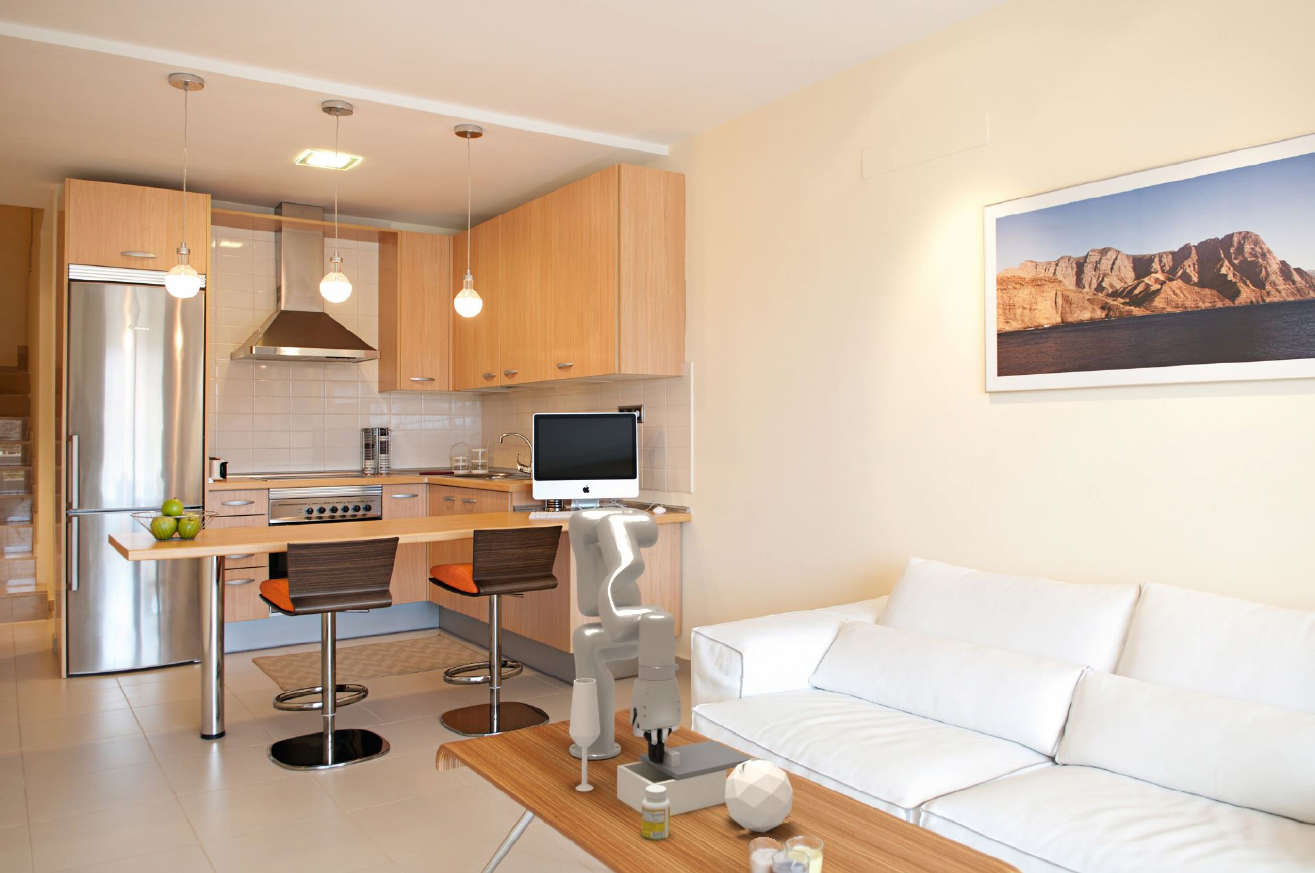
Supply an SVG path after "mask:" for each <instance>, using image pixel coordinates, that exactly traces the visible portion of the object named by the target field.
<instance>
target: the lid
mask: <svg viewBox="0 0 1315 873" xmlns="http://www.w3.org/2000/svg"><path fill="white" fill-rule="evenodd" d="M751 757H752V756H751ZM751 757H750V756H748V755H746V754H743V753H742V752H739V751H737V750H735V749H733V748H730V747H728V746H726V745H723V744H721V743H720V742H719V743H718V742H717V741H714V740H712V739H711V740H710V739H709V740H707V741H702V742H696V743H691V744H686V745H680V746H676V747H675V746H674V747H668V746H666V745H664V762H663V763H660V762H659V764H655V763H654V762H652V761H650V760H649V757H648V752H644V753H640V754H638V760H639V761H644V762H645V763H647V764H649V765H651V766H653V767H655V768H657V769H659V770H660V771H662V772H664V773H666V774H668V775H670V776H672V777H673V778H675V779H677V780H679V779H684V778H688V777H693V776H697V775H702V774H707V773H711V772H716V771H720V770H725V769H726V770H730V769H733V768H734V769H735V768H736V766H737V765H739V764H741V763H743V762H746V761H748V760H750V759H751Z"/></svg>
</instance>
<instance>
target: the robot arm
mask: <svg viewBox="0 0 1315 873" xmlns="http://www.w3.org/2000/svg"><path fill="white" fill-rule="evenodd" d="M567 528H568V538H569V542H570V546H571V549H572V551H573V555H574V558H575V565H576V566H575V568H576V570H575V572H576V573H575V574H576V596H577V597H576V598H577V599H576V601H577V608H578V612H579V613H580V614H581V615H582V616H585V617H588V618H591V617H592V618H594V617H595V618H597V617H598V618H599V619H600V621H599V622H598V621H597V622H595V621H594V622H588V623H583V624H581V625H578V626H577V627H576V628H575V629H574V631H573V633H572V637H571V643H572V650H573V651H572V652H573V657H574V666H575V680H576V679H581V678H590V679H594V680H596V689H597V701H598V712H599V723H600V734H599V736H598V738H597V739H596V740H595V741H594V742H593V743H592V744H591V745H590V746H589V747H587V760H589V761H590V760H594V761H596V760H606V759H611V758H614V757H617V756H618V755H619V754H621V751H622V749H621V748H622V747H621V745H620V744H619V743H617V742H615V724H616V723H615V721H616V720H615V714H616V713H615V704H616V703H615V702H616V701H615V699H616V698H615V697H616V696H615V693H616V692H615V690H616V688H615V678H614V676H613V673H612V672H611V671H610V670H609V669H608V668H607V666H606V664H605V663H606V662H612V661H613V662H614V661H624V660H632V659H636V658H637V660H638V663H637V664H638V670H637V671H638V672H637V673H638V676H637V678H635V679H634V680H633V686H632V690H631V698H630V711H629V723H630V726H632V727H633V729H632V735H633V736H635V737H636V738H637V737H638V738H639V737H640V738H644V739H645V741H646V742H647V753H648V757H649V760H650V761H652V762H654V763H655V764H659V762H660V763H663V762H664V746H665V744H666V743H667V741H668V738H669V736H670V735H671V734H672V733H673V732H675V731H677V730H679V729H680V728H681V727H680V722H681V720H682V719H681V717H682V716H681V714H682V708H681V707H682V706H681V703H682V702H681V694H680V693H681V692H680V687H679V682H678V678H677V677H676V676H675V675H676V671H679V670H680V666H679V663H676V662H675V656H676V654H675V653H676V652H675V650H676V649H675V647H676V646H675V645H676V644H675V642H676V641H675V640H676V639H675V638H676V637H675V636H676V635H675V634H676V630H675V628H676V627H675V626H676V625H675V623H676V622H675V617H674V615H673V614H672V613H671V612H668V611H666V610H665V608H664V607H662V606H660V605H656V604H651V605H650V604H649V605H648V604H647V605H642V595H641V594H642V593H641V589H640V587H639V586H640V585H639V584H638V582H637V580H639V579H640V578H641V577H642V575H643V574H644V572H645V569H646V565H645V561H644V558H643V556H642V552H641V550H640V549H647V548H648V549H650V548H652V547H654V546H655V545H657V544H656V543H657V542H658V539H659V528H658V524H657V521H656V519H655V518H654V517H653V514H651V513H649V512H647V511H645V510H641V509H638V508H635V507H634V508H633V507H591V508H583V509H579V510H576V511H574V512H573V513H572V514H571V515H570V517H569V520H568V527H567ZM569 754H570V755H571V756H573V757H575V758H577V759H580V760H582V747H580V746H579V745H578V744H576V743H575V742H574V743H573V744H571V745H570V746H569Z"/></svg>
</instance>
